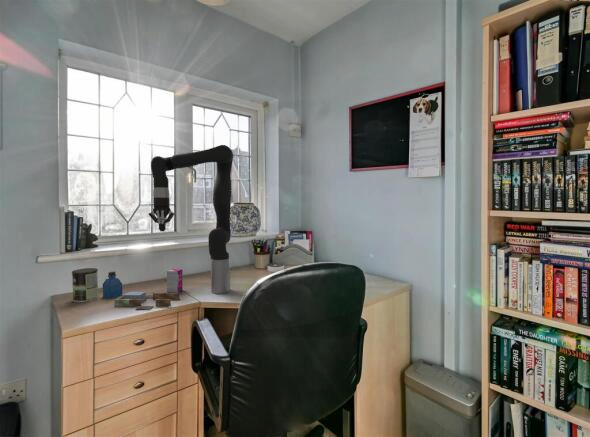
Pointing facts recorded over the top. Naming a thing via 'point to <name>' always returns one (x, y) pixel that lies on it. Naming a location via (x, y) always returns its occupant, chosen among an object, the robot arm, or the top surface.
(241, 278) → the top surface
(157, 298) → the channel
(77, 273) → the coffee can
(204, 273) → the top surface
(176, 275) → the supplement box
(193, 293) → the top surface
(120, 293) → the perfume bottle
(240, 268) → the top surface
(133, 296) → the slate block
